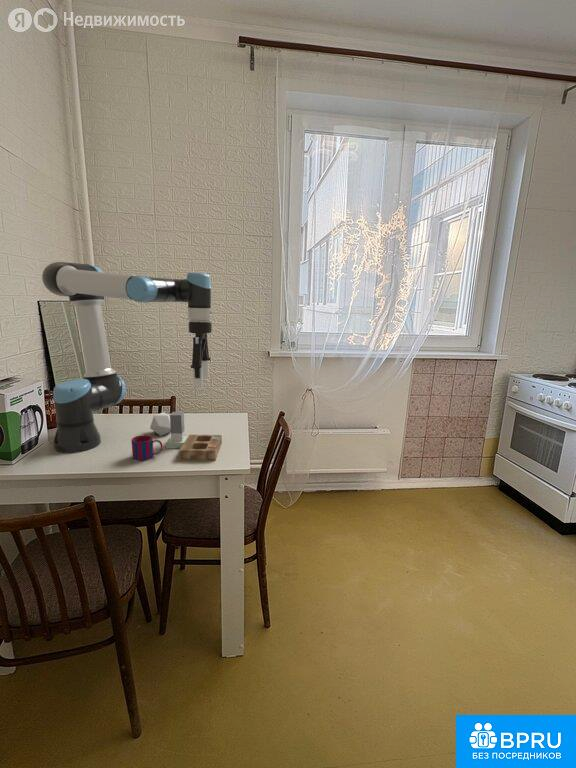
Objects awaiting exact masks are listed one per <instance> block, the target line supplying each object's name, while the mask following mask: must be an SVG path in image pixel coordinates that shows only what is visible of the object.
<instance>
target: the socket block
mask: <svg viewBox="0 0 576 768" xmlns="http://www.w3.org/2000/svg"><path fill="white" fill-rule="evenodd" d="M187 436H188V438H187V439H186V441H185V442H184V444H183V446H182V447H181V448H179V461H216V460H217V458H218V455H219V452H220V450H221V447H222V444H223V436H222V434H189V435H187Z"/></svg>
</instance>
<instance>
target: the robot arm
mask: <svg viewBox="0 0 576 768" xmlns="http://www.w3.org/2000/svg"><path fill="white" fill-rule="evenodd" d="M41 279H42V283H43V285H44V287H45V288H46V289H47V290H48V291H49V292H50V293H52V294H54V295H56V296H60V297H68V299H69V303H70V304H71V305H73V306H74V307H75V310H76V312H75V313H76V317H77V322H78V328H79V335H80V340H81V346H82V350H83V351H82V352H83V357H84V360H85V361H84V362H85V368H86V372H85V373H84V374H83V378H74V379H69V380H65V381H62V382H60V383H58V384H56V385H55V386H54V388H53V391H52V392H53V397H52V398H53V403H54V410H55V417H56V419H55V420H56V432H55V435H54V439H53V449H54V451H56V452H58V453H59V452H60V453H77V452H78V453H79V452H83V451H89V450H90V449H93V448H94V449H95V448H96V447H98V446H99V445H100V444H101V442H102V439H101V438H102V437H101V433H100V432H99V430H98V428H97V426H96V424H95V421H94V420H95V419H94V413H95V412H97V411H100V410H104V409H106V408H107V409H108V408H111V407H114V406H115V405H117V404H120V403H121V402H122V401H123V399H124V398H125V396H126V392H127V388H126V383H125V381H124V380H123V379H122V377H121V376H119V375H118V373H117V371H116V370H115V369H114V368H112V364H111V363H112V362H111V357H110V351H109V346H108V345H109V344H108V340H107V333H106V326H105V322H104V321H105V320H104V315H103V309H102V306H103V303H104V302H105V297H106V298H114V299H121V300H131V301H134V302H136V303H145V304H146V303H187V319H188V320H189V322H188V333H190V334H195V337H194V336H193V337H192V342H193V343H192V359H191V361H192V362H191V365H190V369H192V370H193V372H192V373H193V388H197V389H198V388H199V389H203V385H204V384H203V380H210V379H209V377H210V375H209V361H211V357H210V354H209V352H210V351H209V343H208V334H211V333H212V331H213V330H212V327H213V326H212V324H213V323H212V321H211V320H212V315H213V314H214V311H213V310H212V292H211V291H212V285H211V284H212V283H211V275H210V274H208V273H205V272H188V273H187V274H186V278H185V279H183V278H182V279H181V278H179V279H178V278H164V277H163V278H162V277H151V276H146V275H145V276H143V275H134V274H133V275H130V274H124V273H112V272H105V271H104V270H103V269H101V268H100V267H98V266H96V265H92V264H88V263H77V262H67V261H55V262H52V263H50V264H48V265H46V267H44V270H43V271H42V275H41Z"/></svg>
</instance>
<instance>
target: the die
mask: <svg viewBox="0 0 576 768" xmlns="http://www.w3.org/2000/svg"><path fill="white" fill-rule="evenodd" d="M152 417H153V418H152V420H151V424H150V427H149V429H150V430H152V431H153V432H155V433H156V434H158V436H160V437H162V436H164V435H167V434H169V433H171V426H170V414H167V413H166V412H164V411H163V412H160V413H157V414H154V415H153V416H152Z"/></svg>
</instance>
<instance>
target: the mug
mask: <svg viewBox="0 0 576 768" xmlns="http://www.w3.org/2000/svg"><path fill="white" fill-rule="evenodd" d="M156 442H157V443H159V445H160V449H159V451H157V452H154V443H156ZM163 446H164V445H163V443H162V441H161V440H159V439H153V436H151V435H149V434H148V435H147V434H144V435H143V434H142V435H136V436H134V437H132V438H131V453H132V459H133V461H136V462H145V461H149V460H152V459H153V458H154V456H155V455H158V454H159V453H161V452H162V451H163Z"/></svg>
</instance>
